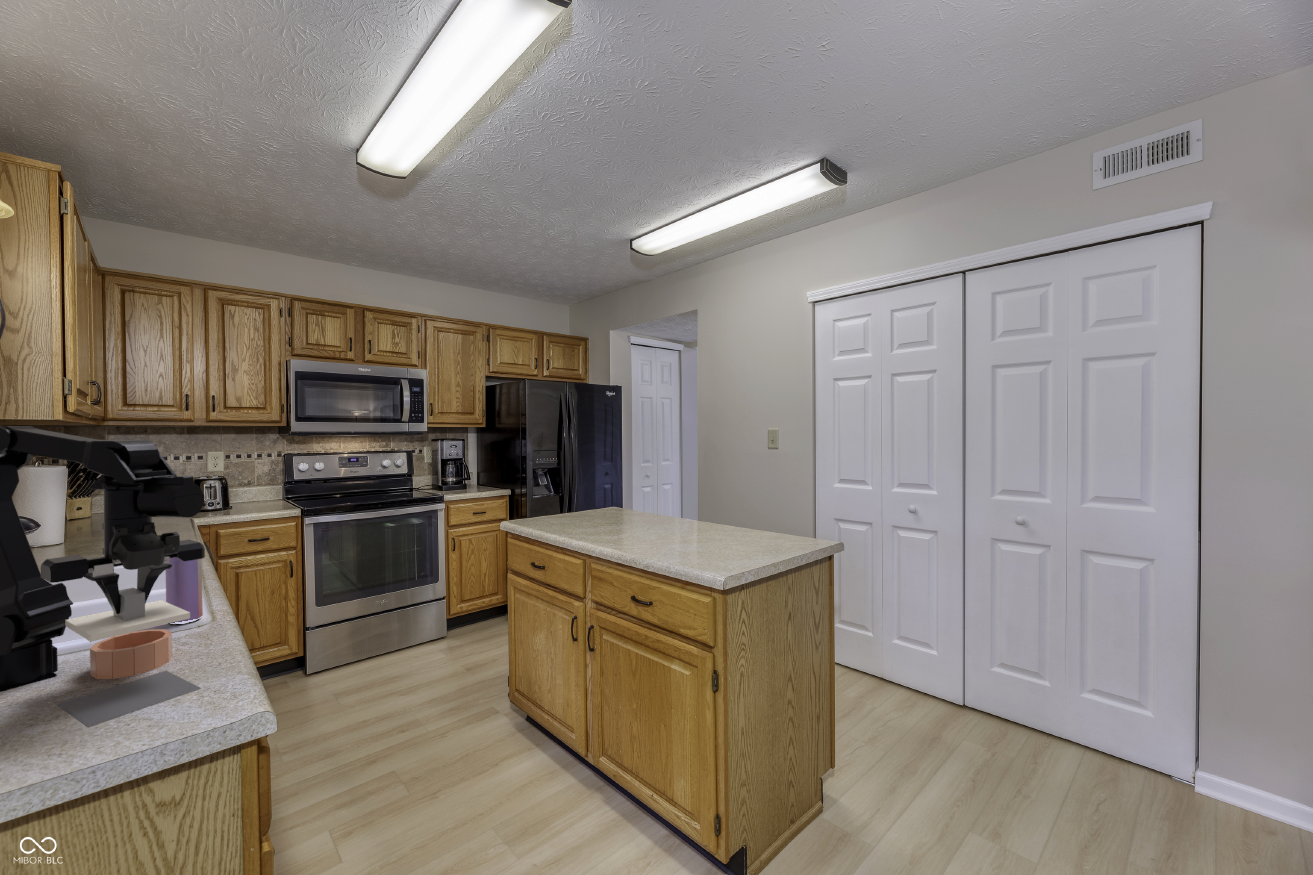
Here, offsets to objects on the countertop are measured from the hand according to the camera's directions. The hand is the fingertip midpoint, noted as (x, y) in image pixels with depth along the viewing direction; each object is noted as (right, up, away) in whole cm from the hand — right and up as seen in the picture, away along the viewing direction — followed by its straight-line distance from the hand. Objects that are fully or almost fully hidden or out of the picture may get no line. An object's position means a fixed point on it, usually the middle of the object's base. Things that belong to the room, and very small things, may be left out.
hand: (129, 611), depth 90 cm
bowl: (-5, -12, +6) cm, 14 cm away
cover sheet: (0, -2, 0) cm, 2 cm away
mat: (+5, -12, -5) cm, 14 cm away
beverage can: (-16, -12, +29) cm, 35 cm away
